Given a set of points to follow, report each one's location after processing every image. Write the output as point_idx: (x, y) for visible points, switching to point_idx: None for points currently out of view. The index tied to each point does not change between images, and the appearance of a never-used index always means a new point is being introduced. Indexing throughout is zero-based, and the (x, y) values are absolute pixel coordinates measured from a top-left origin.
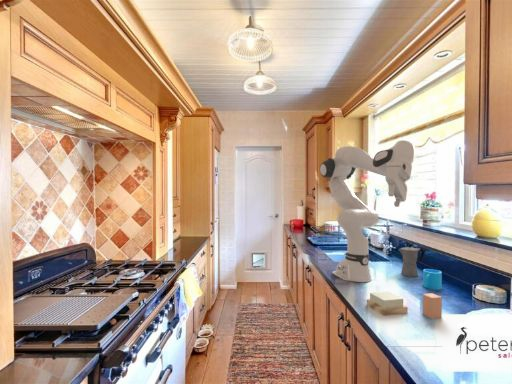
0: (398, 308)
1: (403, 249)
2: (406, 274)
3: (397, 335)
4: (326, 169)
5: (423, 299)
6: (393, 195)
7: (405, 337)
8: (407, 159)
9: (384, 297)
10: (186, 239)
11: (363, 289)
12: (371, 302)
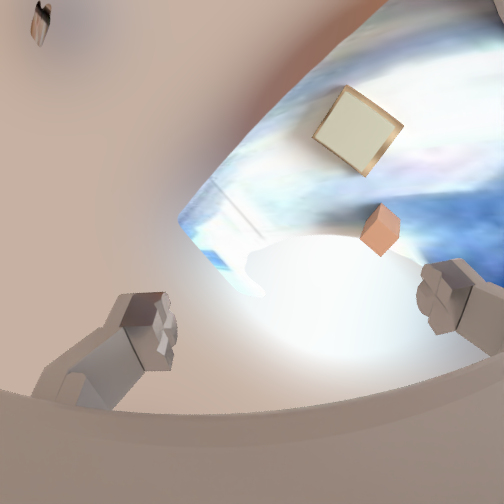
0: (345, 161)
1: None
2: None
3: (249, 180)
4: None
5: (377, 216)
6: (176, 339)
7: (251, 192)
8: None
9: (337, 131)
10: None
11: (457, 45)
12: (336, 100)
